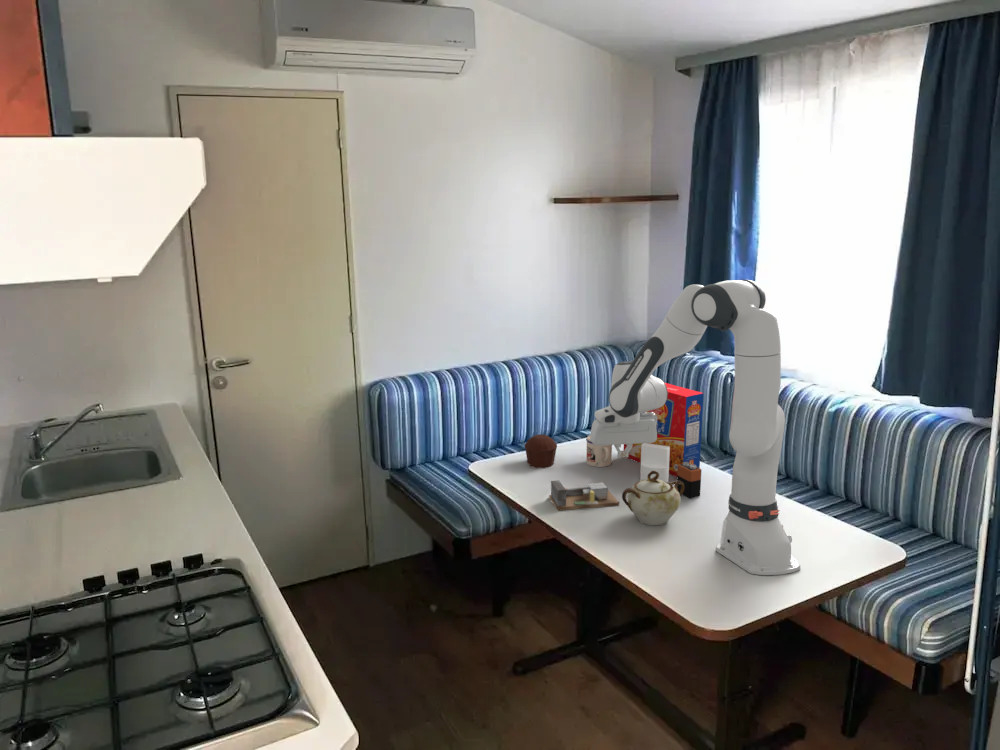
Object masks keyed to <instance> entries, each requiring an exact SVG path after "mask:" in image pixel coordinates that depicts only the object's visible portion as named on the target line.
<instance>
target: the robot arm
mask: <svg viewBox="0 0 1000 750" xmlns="http://www.w3.org/2000/svg"><path fill="white" fill-rule="evenodd" d="M766 300H767V299H766V293H765V291H764V289H763V287H762V285H760V284H759V283H758V282H756V281H754V280H750V279H743V278H742V279H737V280H723V281H718V282H716V283H710V284H707V285H705V286H704V285H702V284H698V283H697V284H690V285H687V286H685V288H684V289H683V290H682V291H681V292H680V293H679V294H678V296H677V298H676V299H675V300H674V301H673V302H672V305H671V306H670V308H669V310H668V312H667V313H666V315H665V317H664V319H663V320H662V322H661V324H660V325H659V326H658V328H657V329H656V331H654V333H653V334H652V336H651V337H650V338H649V339H648V340H647V341H646V342H645V343H644V345H643V346H642V347H641V348H640V350H639V351H638V353H637V355H635V358H634V359H633V360H628V361H627V360H626V361H620V362H617V363H616V364H614V366H613V367H614V368H613V370H612V375H611V386H610V390H609V395H608V403H609V405H607V406H605V407H603V408H600V409H598V410H595V412H594V417H595V419H594V420H593V421H592V424H591V428H590V429H591V430H590V435H591V436H590V440H591V442H592V443H593V444H594V445H595V446H601V445H612V446H614V448H615V450H616V451H617V454H616V455H617V458H618V459H624V458H627V457H628V454H629V451H630V450H631V448H632V446H633V444H636V443H653V442H655V441H656V440H657V429H656V424H657V416H656V414H654V413H653V412H648V413H642V412H646V411H650V410H654V409H658V408H660V407H662V406H664V404H665V403H666V401H667V397H668V391H667V387H666V385H665V383H666V382H664V381H663V380H662V379H661V378H660V377H658V376H657V377H656V376H654V375H653V373H654V371H655V370H656V369H658V367H660V366H661V365H662V364H664V363H666V362H668V361H670V360H672V359H675V358H677V357H679V356H682V355H684V354H687V353H689V352H690V351H692V350H693V349H694V348H695V347H696V346H697V345H698V344H699V342H700V341H701V339H702V337H703V335H704V334H705V332H706V331H707V330H706V329H707V328H708V327H711V328H714V329H716V330H719V331H721V332H726V331H729V330H730V332H731V333H732V334H733V337H734V338H733V339H734V388H733V395H732V396H733V398H732V405H731V415H730V416H731V417H730V428H729V436H728V439H729V442H730V445H731V447H732V448H733V450H734V451H735V458H734V462H733V466H732V473H731V474H732V475H731V493H730V494H729V497H728V510H729V511H728V513H727V515H726V517H725V518H724V520H723V522H722V523H723V524H722V528H721V537H720V542H719V543H718V544H717V545H716V546H715V551H716V552H717V553H718V554H720V555H722V556H723V557H725V558H727V559H728V560H730V561H731V562H732V563H734V564H736V566H739V567H740V568H742V569H743V570H744V571H746V572H747V573H749V574H752V575H758V576H759V575H760V576H777V575H785V574H791V573H795V572H797V571H799V570H800V569H801V564H800V562H799V561H798V560H797V558H796V557H795V555H793V553H792V544H791V543H792V542H793V538H792V535H791V534H788V533H786V531H785V529H784V525H783V524H782V523H781V521H780V519H779V515H780V513H779V512H780V510H779V506H778V501H777V499H776V493H777V481H778V480H777V479H778V471H779V465H780V459H781V455H782V449H783V448H782V447H783V439H784V433H785V432H784V431H785V426H786V425H785V423H786V416H785V412H784V410H783V408H782V407H781V405H780V404H779V396H780V388H781V381H782V380H781V375H782V373H781V371H782V369H781V368H782V367H781V361H782V360H781V355H782V354H781V353H782V352H781V337H780V328H779V324H778V320H777V316H776V315H775V314H774V313H773V312H772V311H771V310H768V309H765V305H766V302H767V301H766ZM624 444H626V445H627V447H626V449H625V451H624V450H621V449H620V448H622V445H624ZM627 459H628V458H627Z"/></svg>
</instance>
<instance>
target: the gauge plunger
mask: <svg viewBox="0 0 1000 750" xmlns="http://www.w3.org/2000/svg"><path fill="white" fill-rule="evenodd" d="M586 487H587V489H584V490H582V494H583V496H584V495H588V497H589V498H590V491H594V492H595V495H594V500H601V499H607V493H608V490H609V488H608V487H607V485H606V484H605V483H604V482H595V483H587V486H586Z"/></svg>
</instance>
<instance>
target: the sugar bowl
mask: <svg viewBox="0 0 1000 750" xmlns="http://www.w3.org/2000/svg"><path fill="white" fill-rule="evenodd" d="M652 474H656V476H655V477H653V478H650V476H651V475H652ZM658 478H659V473H658V472H656V471H651V472H650V473H649V474H648V478H647V480H642V481H640V480H639V481H637V482H635V484H634V485H632V486H631V488H630V487H629V488H628V487H627V488H626V489H624V490H623V492H622V496H621V497H622V501H623V503H624V504H625V505H626V506H627V508H629V510H630V512H632V513H633V514H634V516H635V517H637V519H638V521H640V523H642V524H645V525H649V526H661V525H665V524H667V523H668V522H669V520H670V519H671V518H672V516H674V514H675V513H676V511H678V509H679V507H680V505H681V496H683V495H682V493H683V492H684V489H685V485H684V483H683V482H682V481H680V480H679V481H677V480H675V481H672V482H669V481H668V482H666V481H662V480H658ZM678 484H680V485H681V490H680V492H678V488H677V485H678Z"/></svg>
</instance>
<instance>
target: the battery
mask: <svg viewBox="0 0 1000 750" xmlns="http://www.w3.org/2000/svg"><path fill="white" fill-rule="evenodd" d="M679 480H680V481H682V482H683V483H684V485H685V489H684V492H683V493H682V495H681V496H684V497H686V498H687V499H696V498H699V497H700V496H701V485H702V483H701V482H702V468H698V467H696V465H693V464H690V463H688V462H684V464H679V465H678V470H677V477H676V481H679ZM677 488H678V492H680V490H681V485H680V484H678V485H677Z"/></svg>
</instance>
